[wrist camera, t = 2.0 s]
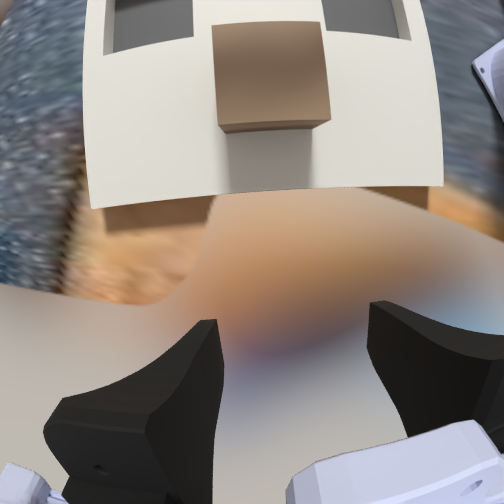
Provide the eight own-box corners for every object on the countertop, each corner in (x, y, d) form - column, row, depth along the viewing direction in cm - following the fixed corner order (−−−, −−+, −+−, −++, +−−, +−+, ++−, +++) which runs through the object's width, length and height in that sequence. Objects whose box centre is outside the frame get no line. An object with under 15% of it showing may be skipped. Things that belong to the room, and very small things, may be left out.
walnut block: (312, 129, 17) (331, 119, 13) (225, 133, 17) (217, 125, 13) (304, 50, 16) (320, 21, 12) (219, 54, 16) (211, 25, 12)
